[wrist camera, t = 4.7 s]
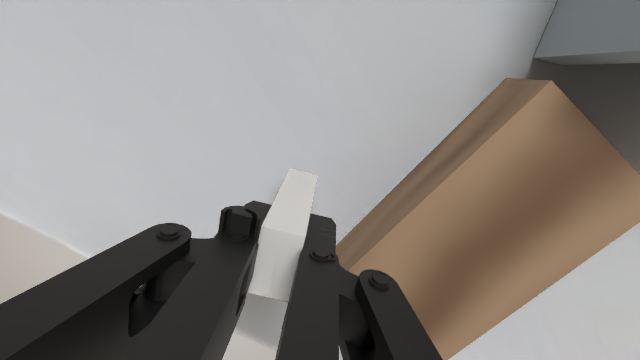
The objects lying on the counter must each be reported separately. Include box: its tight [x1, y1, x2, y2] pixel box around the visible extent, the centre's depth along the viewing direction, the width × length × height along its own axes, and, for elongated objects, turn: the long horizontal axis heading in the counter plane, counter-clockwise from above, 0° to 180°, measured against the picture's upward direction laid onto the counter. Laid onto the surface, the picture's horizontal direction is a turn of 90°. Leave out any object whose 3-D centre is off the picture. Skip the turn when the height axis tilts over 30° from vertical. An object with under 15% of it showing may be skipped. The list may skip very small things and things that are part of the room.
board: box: [336, 78, 640, 360], centre depth 17 cm, size 8×14×4 cm, turn 140°
